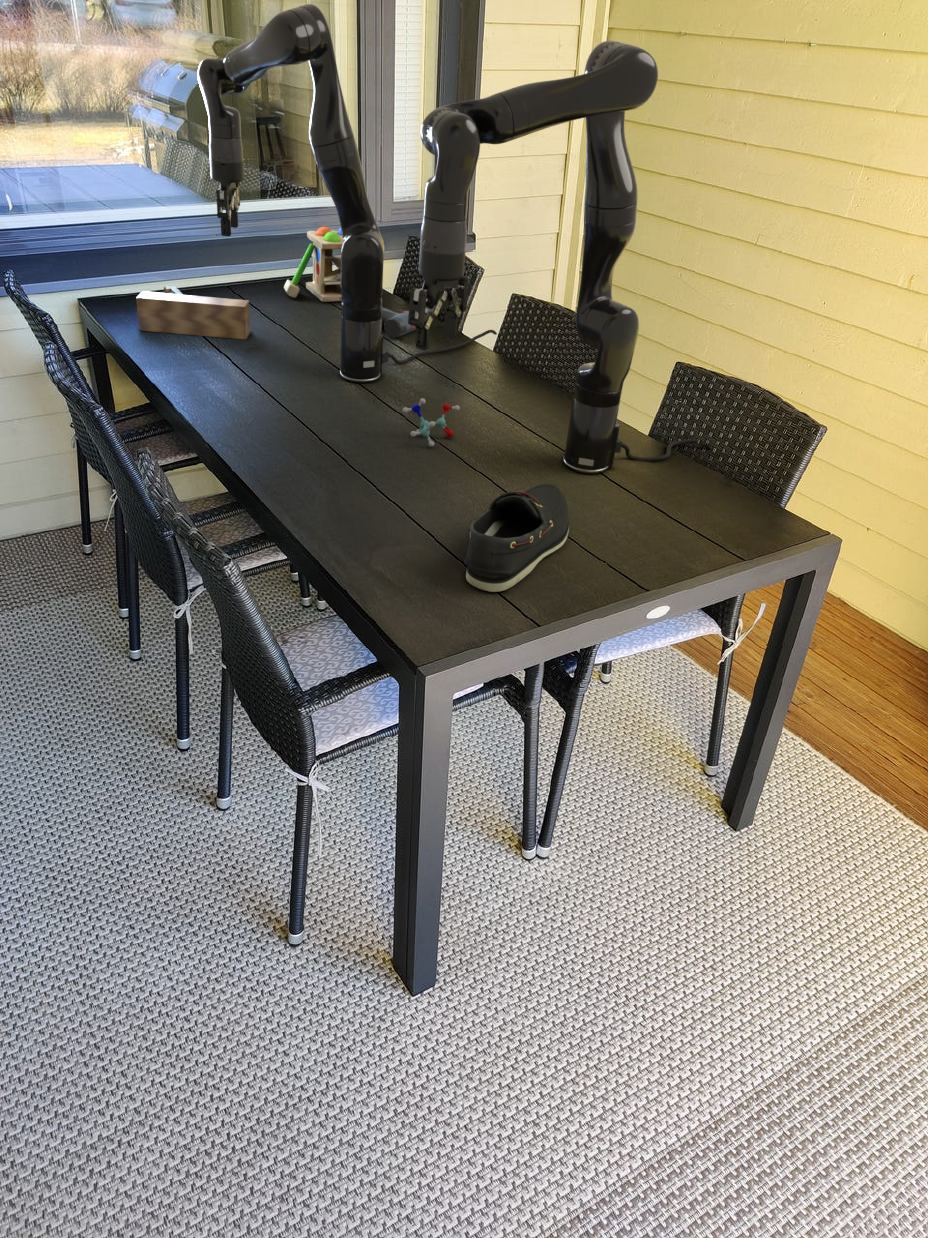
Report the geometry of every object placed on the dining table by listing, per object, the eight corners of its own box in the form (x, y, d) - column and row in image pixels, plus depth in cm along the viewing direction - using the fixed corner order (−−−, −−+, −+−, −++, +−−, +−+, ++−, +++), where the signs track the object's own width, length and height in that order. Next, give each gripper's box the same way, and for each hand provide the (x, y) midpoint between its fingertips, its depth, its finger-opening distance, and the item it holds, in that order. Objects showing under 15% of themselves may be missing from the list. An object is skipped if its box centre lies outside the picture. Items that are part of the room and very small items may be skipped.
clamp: (153, 286, 267) (189, 284, 272) (153, 294, 268) (189, 292, 273) (168, 303, 257) (206, 300, 261) (169, 311, 258) (206, 308, 263)
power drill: (380, 308, 276) (439, 325, 268) (339, 322, 262) (400, 341, 254) (381, 288, 273) (441, 305, 265) (339, 302, 259) (401, 320, 251)
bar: (250, 332, 251) (249, 300, 246) (246, 339, 246) (244, 306, 241) (145, 323, 250) (142, 290, 245) (139, 330, 245) (136, 297, 240)
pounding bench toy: (292, 303, 272) (291, 236, 262) (277, 288, 282) (276, 223, 272) (370, 299, 281) (372, 234, 271) (352, 285, 292) (353, 221, 282)
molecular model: (451, 439, 197) (435, 390, 196) (410, 454, 201) (394, 406, 199) (469, 435, 207) (454, 389, 206) (430, 449, 211) (415, 404, 210)
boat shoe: (593, 526, 180) (600, 474, 174) (502, 598, 156) (507, 541, 151) (532, 507, 186) (537, 456, 180) (435, 574, 162) (438, 517, 156)
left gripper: (216, 150, 231) (220, 223, 240) (202, 161, 219) (207, 237, 228) (248, 153, 231) (251, 225, 240) (236, 164, 219) (239, 240, 229)
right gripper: (437, 258, 154) (430, 358, 163) (485, 243, 164) (476, 339, 173) (398, 248, 157) (394, 347, 166) (448, 234, 167) (441, 328, 176)
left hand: (230, 231), depth 234 cm, fingers open, 8 cm apart
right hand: (436, 343), depth 169 cm, fingers open, 8 cm apart
